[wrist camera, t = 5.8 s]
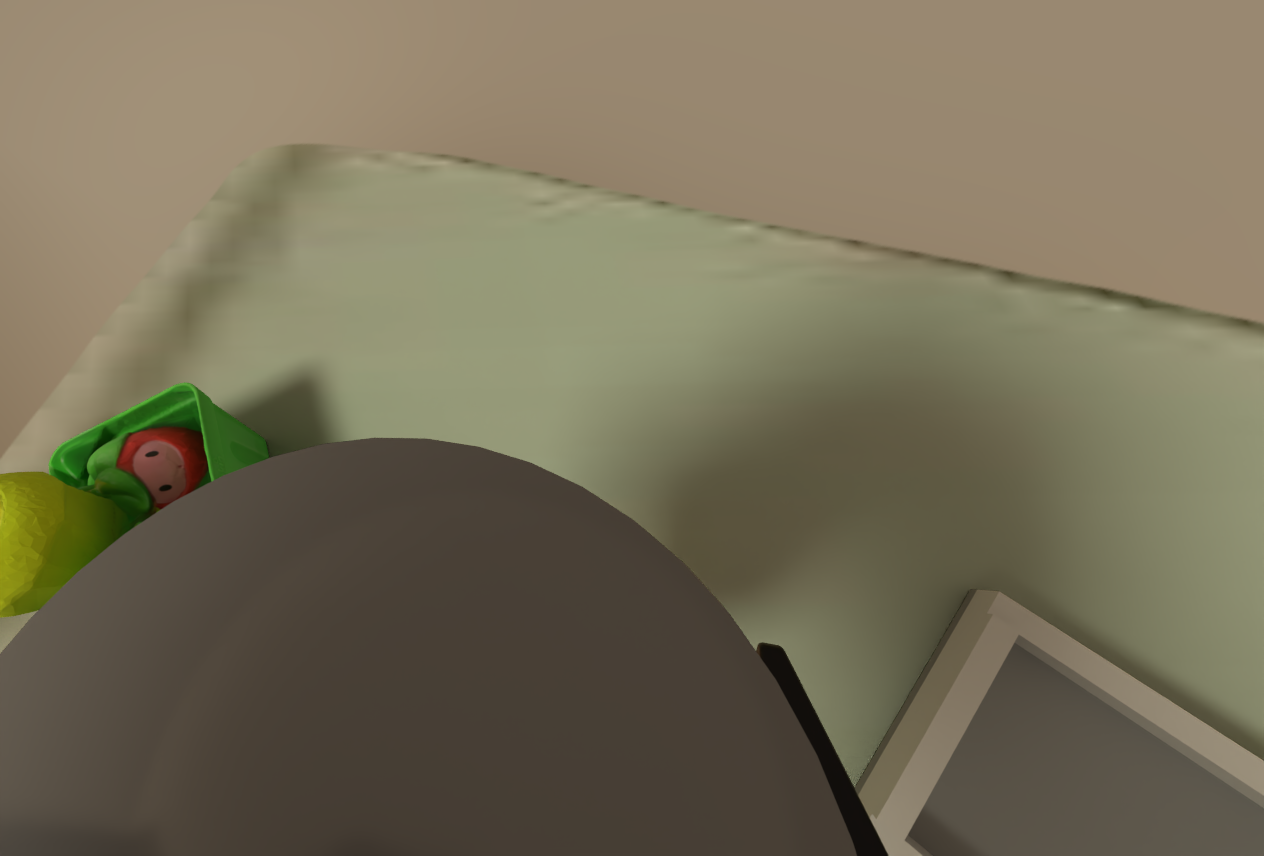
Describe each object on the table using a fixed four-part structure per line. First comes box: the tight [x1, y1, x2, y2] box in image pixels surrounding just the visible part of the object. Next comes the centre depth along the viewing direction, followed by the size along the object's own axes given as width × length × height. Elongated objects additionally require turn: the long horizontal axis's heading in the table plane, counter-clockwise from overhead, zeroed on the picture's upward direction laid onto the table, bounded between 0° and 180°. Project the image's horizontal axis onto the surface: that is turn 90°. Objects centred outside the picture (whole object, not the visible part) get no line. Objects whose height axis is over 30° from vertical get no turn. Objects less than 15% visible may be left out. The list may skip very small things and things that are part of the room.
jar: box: [0, 438, 857, 856], centre depth 9 cm, size 7×7×13 cm
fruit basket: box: [0, 383, 269, 617], centre depth 20 cm, size 11×9×11 cm
